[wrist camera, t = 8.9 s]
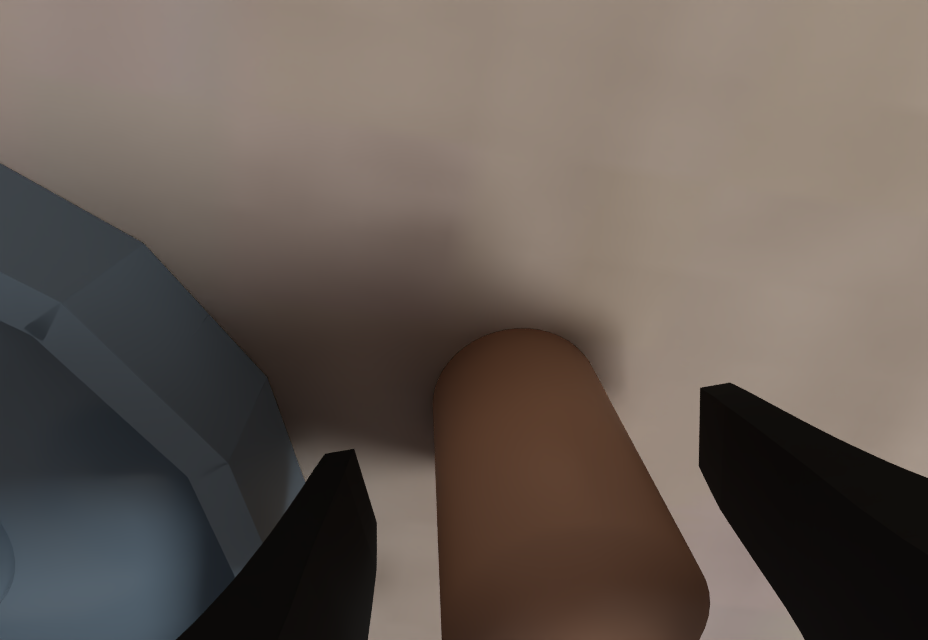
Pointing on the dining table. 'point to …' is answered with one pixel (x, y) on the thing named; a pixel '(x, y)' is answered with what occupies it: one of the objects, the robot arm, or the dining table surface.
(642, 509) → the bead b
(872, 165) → the dining table surface
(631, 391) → the dining table surface
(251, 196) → the dining table surface
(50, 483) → the ring tray
